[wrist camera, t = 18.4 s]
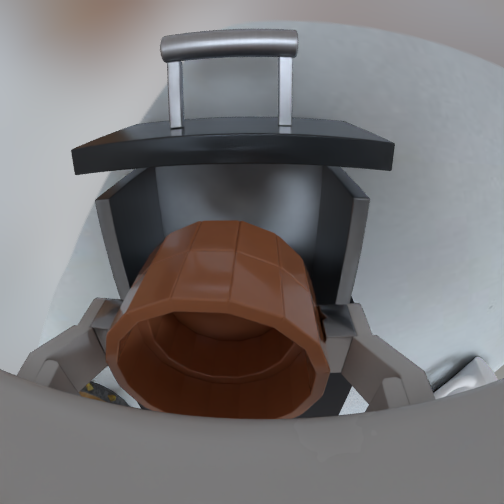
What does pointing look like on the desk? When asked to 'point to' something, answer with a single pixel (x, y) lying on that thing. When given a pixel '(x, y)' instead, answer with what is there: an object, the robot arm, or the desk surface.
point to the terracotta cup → (221, 327)
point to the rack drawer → (237, 171)
